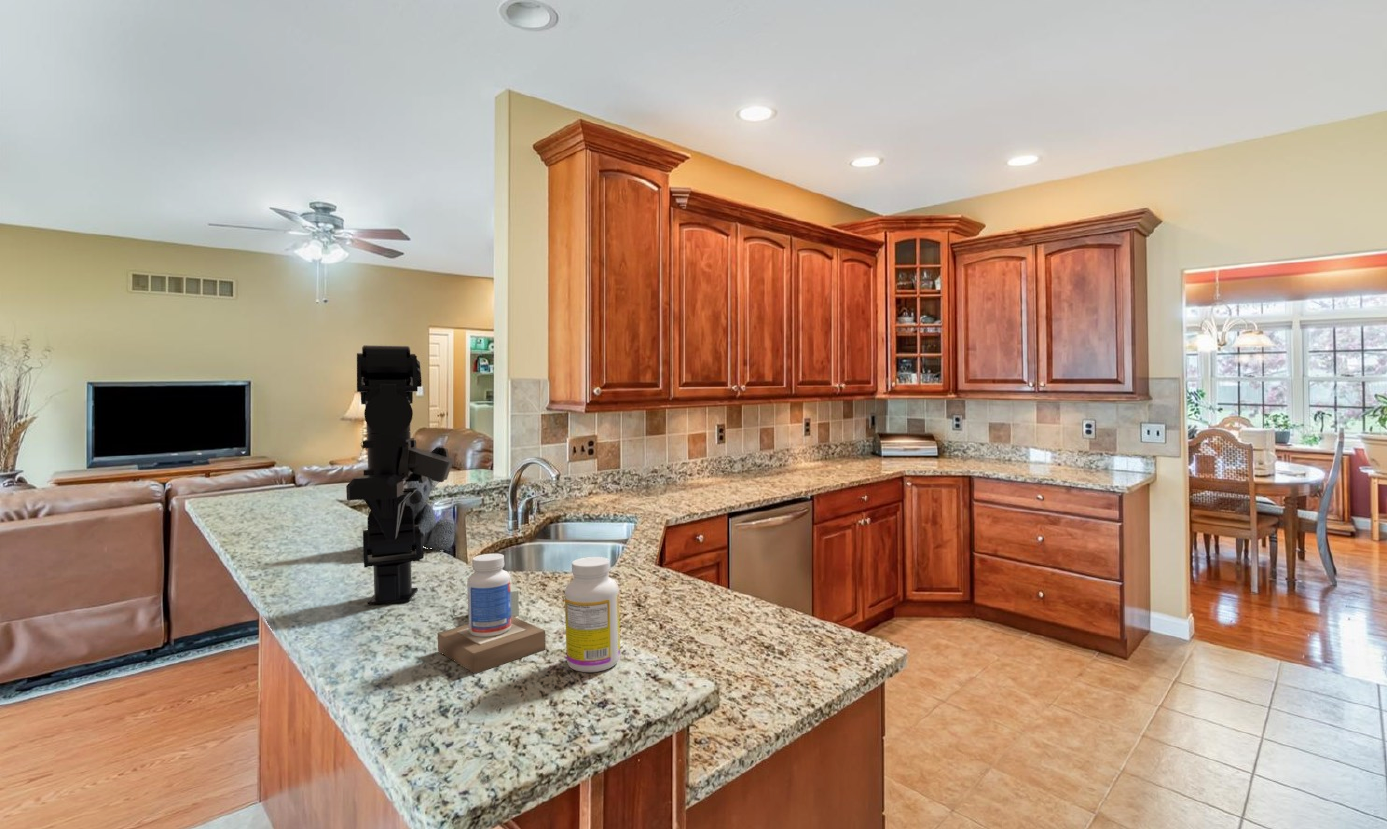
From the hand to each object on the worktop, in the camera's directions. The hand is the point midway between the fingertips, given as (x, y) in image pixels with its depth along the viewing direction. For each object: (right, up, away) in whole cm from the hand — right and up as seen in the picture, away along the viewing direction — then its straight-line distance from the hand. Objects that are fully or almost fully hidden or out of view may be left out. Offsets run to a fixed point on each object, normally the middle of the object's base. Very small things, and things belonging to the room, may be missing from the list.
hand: (392, 539), depth 92 cm
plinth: (+17, -13, -8) cm, 23 cm away
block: (+14, -13, +6) cm, 20 cm away
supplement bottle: (+31, -13, -13) cm, 36 cm away
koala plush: (-21, -12, +51) cm, 56 cm away
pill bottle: (+17, -11, -8) cm, 22 cm away
